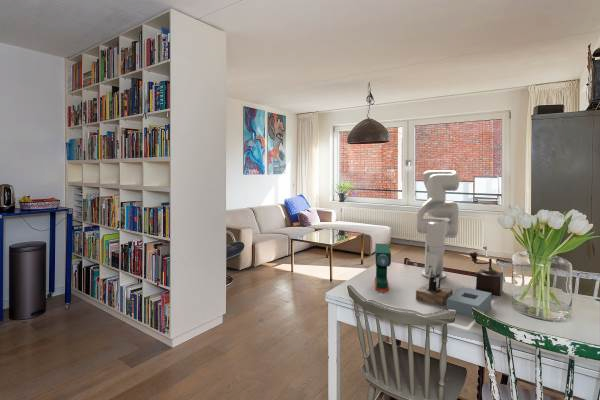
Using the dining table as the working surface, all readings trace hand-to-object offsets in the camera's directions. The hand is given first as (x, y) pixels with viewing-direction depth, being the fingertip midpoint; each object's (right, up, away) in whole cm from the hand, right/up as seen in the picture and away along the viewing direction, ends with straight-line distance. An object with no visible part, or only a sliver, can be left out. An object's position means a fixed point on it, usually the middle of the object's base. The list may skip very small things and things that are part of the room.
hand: (434, 288), depth 157 cm
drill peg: (0, -5, 0) cm, 5 cm away
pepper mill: (+30, -5, +14) cm, 33 cm away
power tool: (-20, -5, +17) cm, 26 cm away
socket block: (0, -6, 0) cm, 6 cm away
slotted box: (+11, -7, -10) cm, 16 cm away
